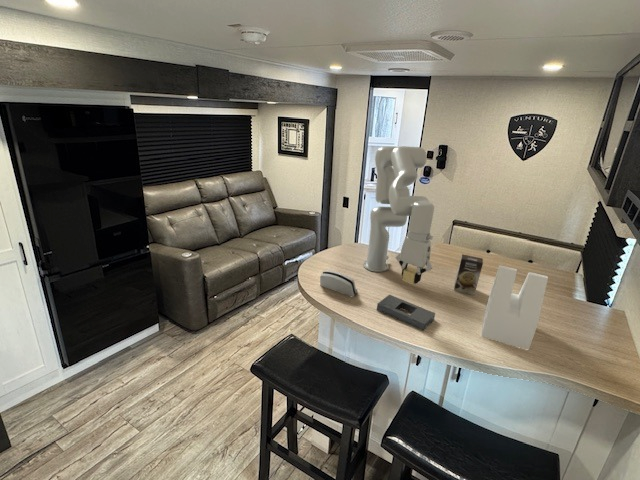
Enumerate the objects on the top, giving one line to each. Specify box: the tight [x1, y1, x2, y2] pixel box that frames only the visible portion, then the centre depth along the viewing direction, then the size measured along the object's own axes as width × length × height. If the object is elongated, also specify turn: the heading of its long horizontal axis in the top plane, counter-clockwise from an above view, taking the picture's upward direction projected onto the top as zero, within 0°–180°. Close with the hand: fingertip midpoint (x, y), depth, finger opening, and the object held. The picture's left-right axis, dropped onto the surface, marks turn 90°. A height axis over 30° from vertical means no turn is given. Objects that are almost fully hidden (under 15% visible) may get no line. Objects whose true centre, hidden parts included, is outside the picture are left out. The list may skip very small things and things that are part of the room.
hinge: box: [319, 269, 358, 298], centre depth 153 cm, size 17×5×10 cm, turn 59°
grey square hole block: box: [376, 294, 436, 332], centre depth 139 cm, size 10×20×3 cm, turn 51°
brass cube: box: [401, 265, 417, 285], centre depth 133 cm, size 4×4×4 cm
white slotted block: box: [480, 264, 549, 350], centre depth 129 cm, size 19×15×25 cm
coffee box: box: [453, 253, 484, 296], centre depth 159 cm, size 9×6×16 cm
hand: (410, 279), depth 134 cm, fingers closed on brass cube, 4 cm apart
